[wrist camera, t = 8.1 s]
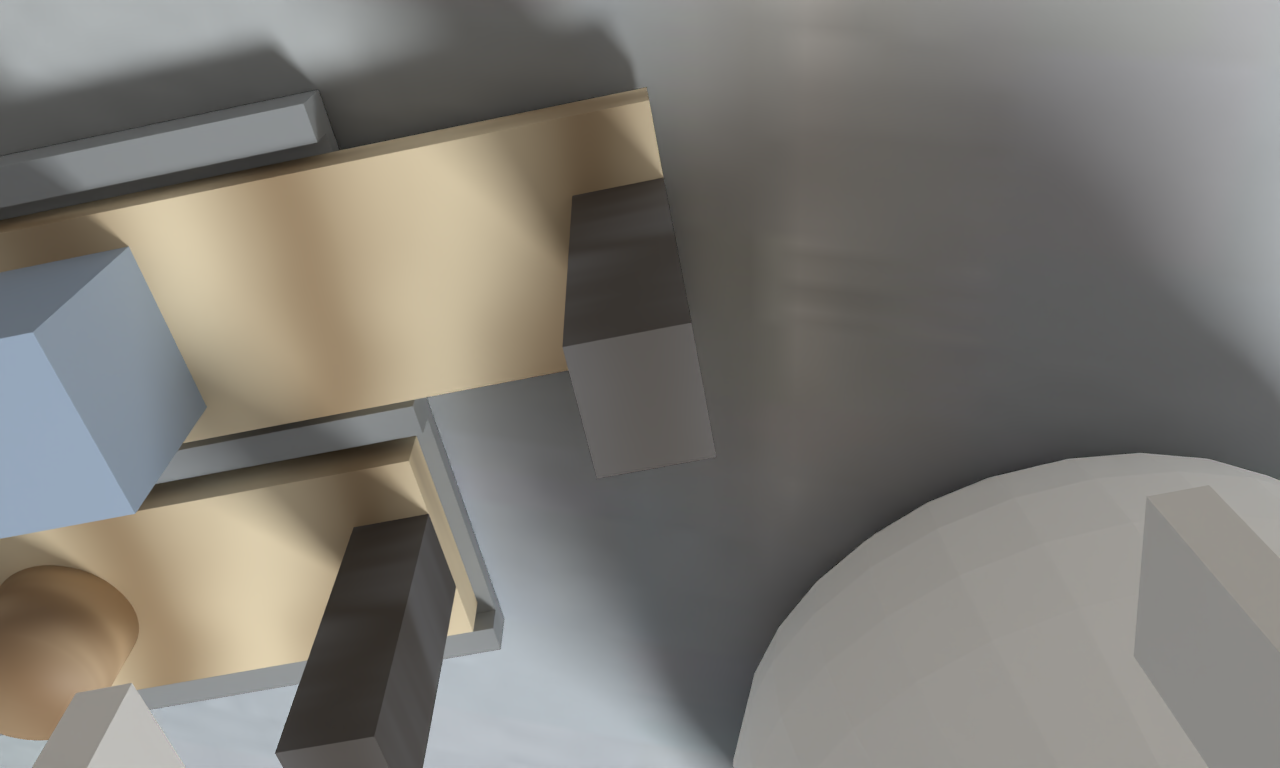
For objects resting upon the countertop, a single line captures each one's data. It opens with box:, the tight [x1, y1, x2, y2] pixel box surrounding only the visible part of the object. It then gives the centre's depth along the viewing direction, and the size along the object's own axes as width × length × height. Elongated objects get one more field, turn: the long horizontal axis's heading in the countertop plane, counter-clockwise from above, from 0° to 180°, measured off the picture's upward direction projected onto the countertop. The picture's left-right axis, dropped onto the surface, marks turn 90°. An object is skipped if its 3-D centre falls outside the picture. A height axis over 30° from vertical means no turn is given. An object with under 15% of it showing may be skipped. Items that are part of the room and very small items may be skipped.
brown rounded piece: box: [0, 565, 139, 740], centre depth 30 cm, size 4×4×3 cm
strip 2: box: [0, 436, 477, 768], centre depth 28 cm, size 21×7×10 cm, turn 101°
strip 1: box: [0, 87, 716, 479], centre depth 23 cm, size 21×7×10 cm, turn 101°
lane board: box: [0, 90, 504, 735], centre depth 30 cm, size 22×19×2 cm
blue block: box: [0, 246, 207, 539], centre depth 25 cm, size 5×5×5 cm
